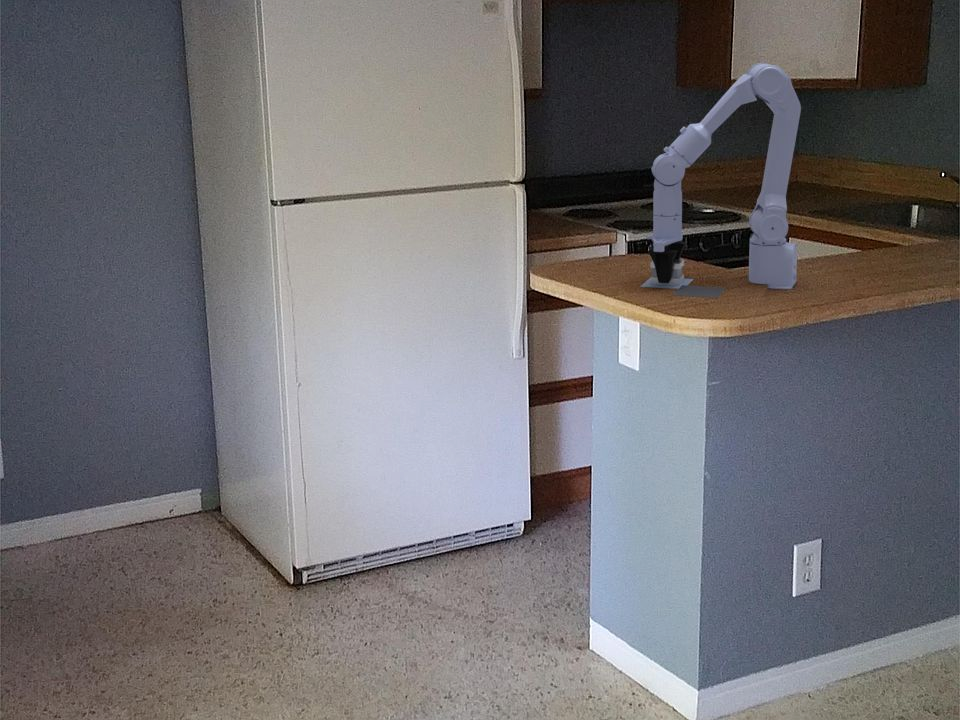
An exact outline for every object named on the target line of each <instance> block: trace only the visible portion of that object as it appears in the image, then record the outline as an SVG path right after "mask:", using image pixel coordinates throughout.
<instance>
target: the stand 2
mask: <svg viewBox="0 0 960 720" xmlns="http://www.w3.org/2000/svg"><path fill="white" fill-rule="evenodd" d="M683 286H684V285H683ZM683 286H681V287H682V288H681V287H680V288H679V289H676V290H675V291H674V292H673V293H672V294H671V296H672V297H689V298H708V299H718V298H719V297H720V296H721V294H723V292H724V291H725V290H726V289H727V287H726V286H725V287H722V286H704V285H703V286H701V285H685V288H684V287H683Z"/></svg>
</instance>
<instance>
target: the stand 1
mask: <svg viewBox="0 0 960 720" xmlns="http://www.w3.org/2000/svg"><path fill="white" fill-rule="evenodd" d="M694 280H695V279H694V278H684V282H683V283H682V284H681V285H679V286H676V285H657V284H650V278H648V279H647V280H646V281H645V282H643V284H641V285H640V286H639V287H640V288H657V289H658V288H659V289H674V290H675V289H676V290H678V289H679V288H680V287H681V286H683V285H684V286H683V287H684V288H685V285H687V286H689V285H690V284H691V283H692V281H694ZM681 288H682V287H681Z"/></svg>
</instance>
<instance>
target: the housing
mask: <svg viewBox="0 0 960 720" xmlns="http://www.w3.org/2000/svg"><path fill="white" fill-rule="evenodd" d="M649 264H650V269H652V272H651V273H652V276H651V277H650V278H649V279H650V284H657V285H676V286H679V285H681V284H682V283H683V282H684V279H685V275H684V274H683V267H684V266H685V260H684V259H680V260H674V261H673V265H672V271H671V278H670V281H669V283H659V282H658V278H657V274H656V269H655V265H654V263H653V260H652V261H651V262H650V263H649Z"/></svg>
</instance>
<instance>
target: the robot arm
mask: <svg viewBox="0 0 960 720" xmlns="http://www.w3.org/2000/svg"><path fill="white" fill-rule="evenodd" d="M792 83H793V82H792V78H791V77H790V76H789V75H788V74H787V73H786V71H784V70H783V69H782V68H781V67H780V66H778V65H774V64H770V63H767V62H759V63H755V64H753V65H752V66H751V67H750V68H748V70H747V73H744V74H742V75H741V76H740V77H739V78H738V79H736V81H735V82H733V84H732V85H731V86H730V87H729V89H728V90H727V91H726V92H725V93H724V94H723V95H722V96H721V98H720V99H719V100H718V101H717V102H716V103H715V104H714V106H712V108H711V109H710V110H709V112H708V113H706V115H705V116H704V118H703V119H701V121H700V122H698V123H690V124H688V126H687V127H686V126H682V128H681V129H680V130H679V132H680V134H679V135H678V137H676V139H675V140H674V141H673V142H672V143H671V144H670V145H669V146H665V147H664V148H663V152H665V153H662V154H659V155H658V156H657V157H656V158H655V159H654V161H653V163H652V166H651V172H652V175H653V177H654V181H653V189H654V190H653V193H652V194H653V195H652V197H653V201H652V202H653V204H652V205H653V210H652V211H653V217H652V218H653V219H652V220H653V221H652V222H653V224H652V227H653V231H652V232H653V233H650V234H648V235H647V240H652V242H653V247H650V248H648V254H649V256H650V257H651V258H650V259H651V260H652V261H653V263H654V265H655V269H656V274H657V278H658V282H659V283H669V281H670V278H671V271H672V265H673V261H674V260H681V256H682V253H683V251H684V249H685V248H686V245H687V242H686V241H683V237H684V236H683V234H682V233H683V232H682V231H683V230H682V229H683V228H682V227H683V222H682V221H683V191H682V180H683V179H684V177H685V174H686V169H687V168H690V167H691V165H693V164H694V163H695V162H696V161H697V159H698V158H699V157H700V156H701V155H702V154H703V153H704V152H705V151H706V150H707V149H708V148H709V146H710V145H711V144H712V134H713V133H714V132H715V131H716V130H717V129H718V128H719V127H720V126H721V125H722V124H723V123H724V122H725V121H726V120H727V119H728V118H729V117H731V115H732V114H733V113H734V112H735V111H736V110H737V109H738V108H740V106H742V105H745V104H749V103H753V102H755V101H756V102H757V100H758V99H757V97H758V98H760V99H761V100H763V102H764V103H765V104H766V105H767V107H768V108H769V109H770V110H771V111H772V112H773V120H772V125H771V131H770V137H769V141H768V148H767V149H768V150H767V155H766V160H765V165H764V172H763V177H762V185H761V190H760V194H759V195H758V197H757V199H756V205H755V207H754V209H753V210H752V211H751V213H750V215H749V219H748V224H749V225H748V226H749V228H750V230H751V231H752V232H753V234H752V235H751V237H750V238H749V254H748V256H749V257H748V282H750V283H754V284H757V285H766V287H765V289H772V290H773V289H774V290H775V289H777V290H792V289H793V287H794V286H795V284H796V283H797V281H798V280H797V276H798V275H797V268H798V267H797V266H798V245H797V243H795V242H794V243H793V242H788V241H787V238H786V236H787V234H788V231H789V222H788V219H787V211H788V205H787V198H786V197H787V191H788V185H789V180H790V173H791V167H792V163H793V157H794V151H795V147H796V139H797V135H798V129H799V122H800V117H801V112H802V106H801V102H800V100H799V97H798V95H797V92H796V91H795V88H794V86H793V84H792Z"/></svg>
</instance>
